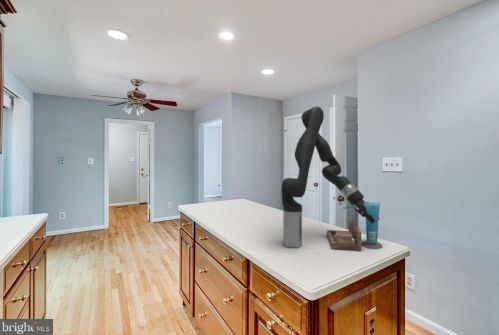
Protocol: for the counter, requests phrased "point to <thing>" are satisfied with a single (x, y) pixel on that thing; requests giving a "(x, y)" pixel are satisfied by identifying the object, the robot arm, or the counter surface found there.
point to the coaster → (372, 245)
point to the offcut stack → (343, 237)
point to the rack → (346, 246)
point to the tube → (372, 227)
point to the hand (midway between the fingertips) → (375, 221)
